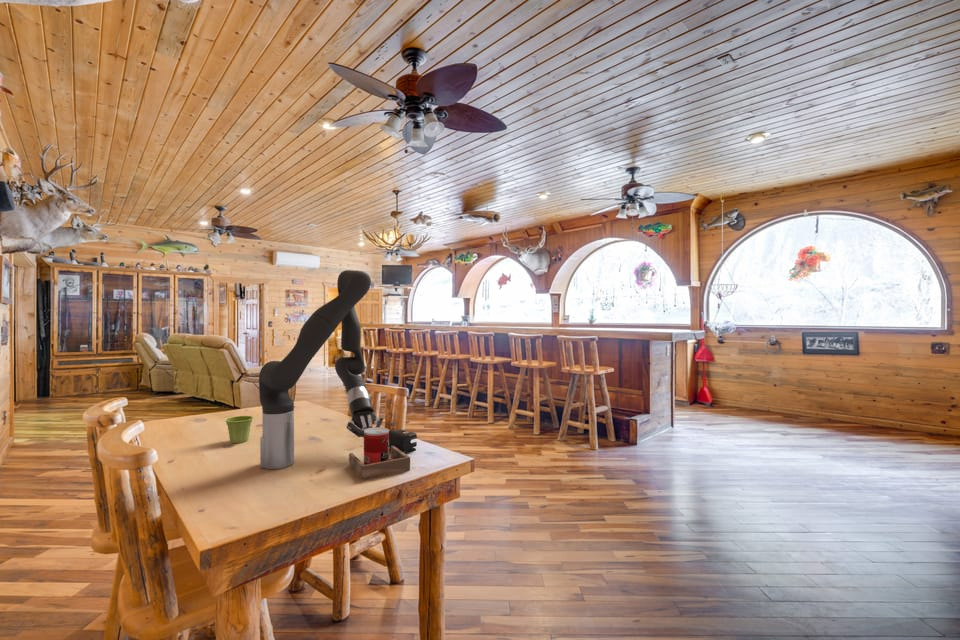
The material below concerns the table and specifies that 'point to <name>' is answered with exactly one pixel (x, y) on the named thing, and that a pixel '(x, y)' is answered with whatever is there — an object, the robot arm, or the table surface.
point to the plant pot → (239, 428)
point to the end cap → (402, 440)
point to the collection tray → (381, 465)
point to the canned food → (376, 445)
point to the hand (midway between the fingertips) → (371, 445)
